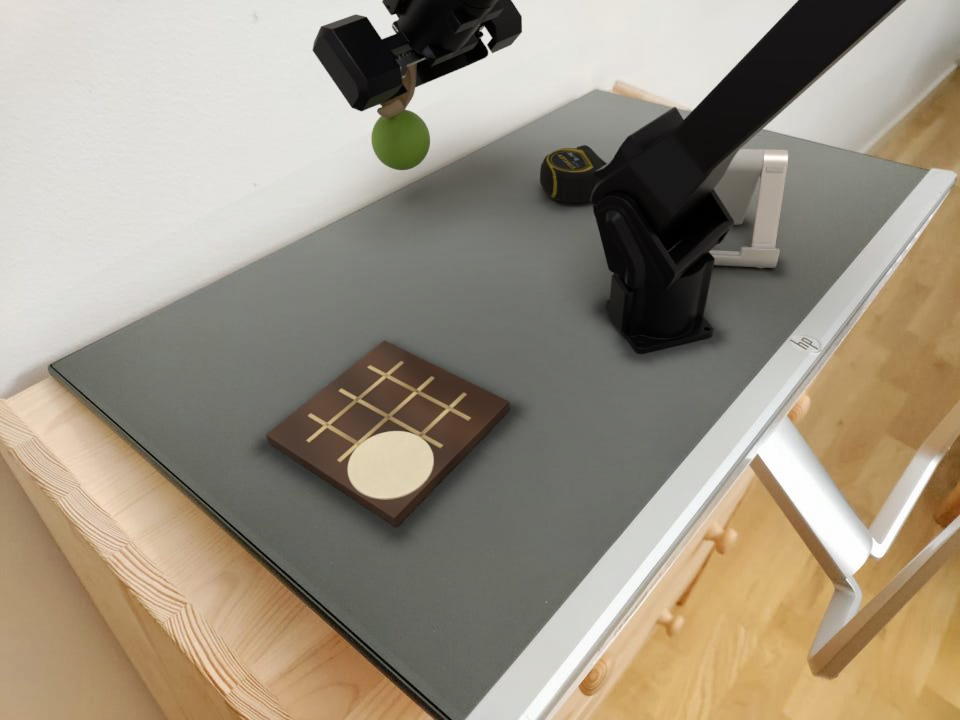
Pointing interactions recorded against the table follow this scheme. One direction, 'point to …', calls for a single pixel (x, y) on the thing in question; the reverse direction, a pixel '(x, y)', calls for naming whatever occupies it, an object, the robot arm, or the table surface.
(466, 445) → the game board
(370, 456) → the cream round disc
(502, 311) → the table surface
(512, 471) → the table surface
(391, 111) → the snail figurine
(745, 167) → the tablet stand
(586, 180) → the tape measure
